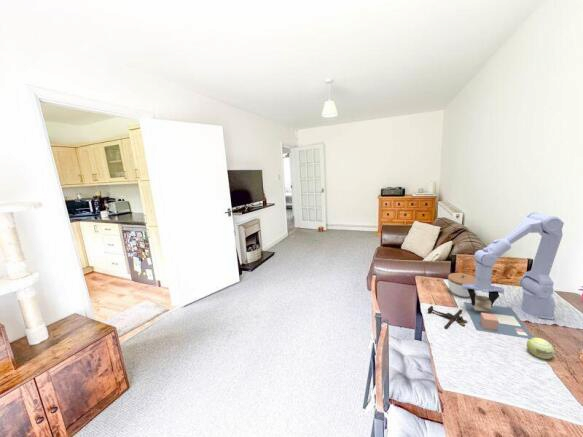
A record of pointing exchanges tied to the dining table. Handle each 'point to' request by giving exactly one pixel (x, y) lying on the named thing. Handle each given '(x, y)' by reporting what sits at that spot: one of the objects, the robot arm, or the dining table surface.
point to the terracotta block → (489, 321)
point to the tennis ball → (540, 348)
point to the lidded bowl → (460, 283)
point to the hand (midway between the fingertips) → (481, 305)
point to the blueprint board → (500, 321)
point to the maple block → (482, 303)
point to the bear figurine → (449, 317)
